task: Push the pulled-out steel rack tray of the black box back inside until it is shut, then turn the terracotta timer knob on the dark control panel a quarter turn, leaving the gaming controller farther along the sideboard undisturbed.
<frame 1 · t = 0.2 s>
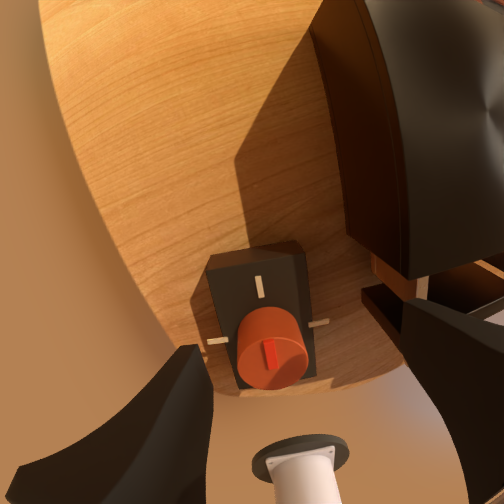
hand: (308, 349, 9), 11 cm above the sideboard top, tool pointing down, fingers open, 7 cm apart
timer panel: (264, 310, 21), on the sideboard top
black box: (407, 121, 17), on the sideboard top
timer knob: (270, 349, 16), point 5 cm above the sideboard top, hinge at 0.0°
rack: (450, 234, 15), point 4 cm above the sideboard top, slide at 4.0 cm
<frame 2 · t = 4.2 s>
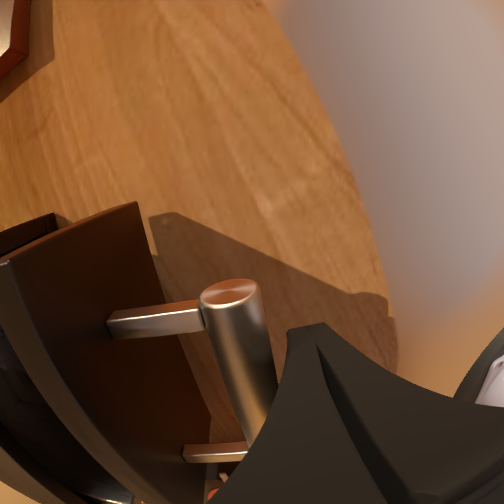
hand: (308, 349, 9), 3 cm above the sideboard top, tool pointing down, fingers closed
timer panel: (237, 463, 16), on the sideboard top
black box: (12, 335, 13), on the sideboard top
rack: (50, 383, 8), point 4 cm above the sideboard top, slide at 3.7 cm, touching gripper
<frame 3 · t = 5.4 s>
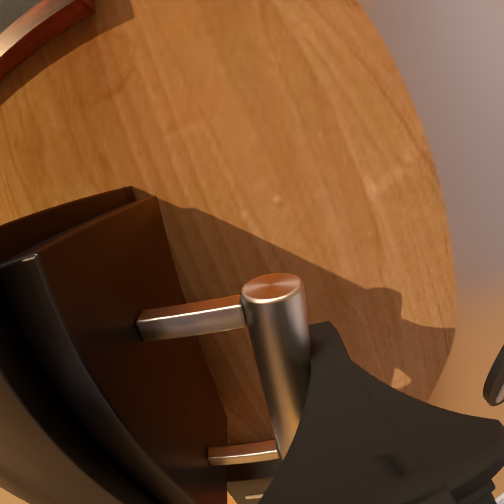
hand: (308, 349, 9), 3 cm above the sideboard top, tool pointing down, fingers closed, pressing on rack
timer panel: (299, 455, 16), on the sideboard top
black box: (50, 337, 12), on the sideboard top
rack: (62, 389, 8), point 4 cm above the sideboard top, slide at 0.0 cm, touching gripper, black box
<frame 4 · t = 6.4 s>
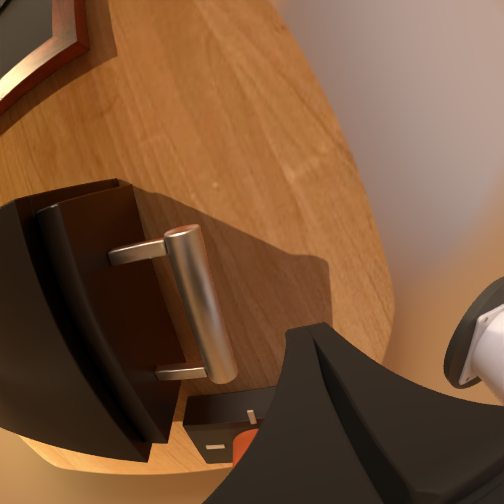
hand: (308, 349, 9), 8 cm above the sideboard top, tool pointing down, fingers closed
timer panel: (258, 413, 20), on the sideboard top
black box: (55, 295, 16), on the sideboard top
timer knob: (261, 462, 15), point 5 cm above the sideboard top, hinge at 0.0°
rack: (60, 321, 12), point 4 cm above the sideboard top, slide at 0.0 cm
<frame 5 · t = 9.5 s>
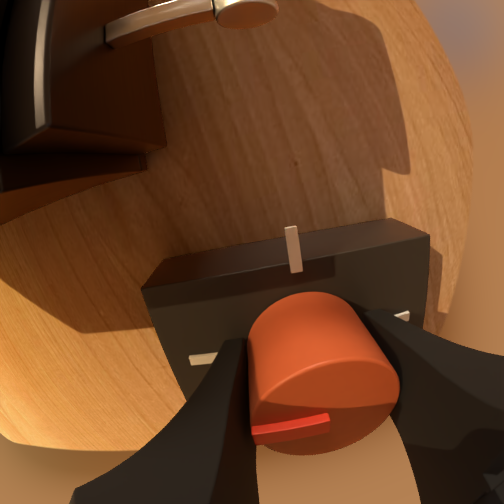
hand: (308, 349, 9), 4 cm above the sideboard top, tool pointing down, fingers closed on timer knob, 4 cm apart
timer panel: (291, 302, 12), on the sideboard top
black box: (7, 105, 9), on the sideboard top
timer knob: (316, 378, 8), point 5 cm above the sideboard top, hinge at 0.0°, touching gripper
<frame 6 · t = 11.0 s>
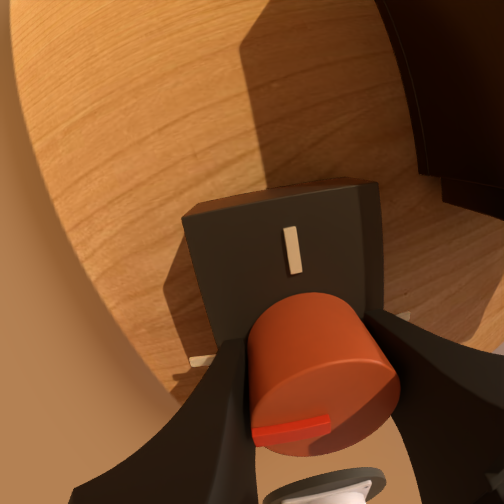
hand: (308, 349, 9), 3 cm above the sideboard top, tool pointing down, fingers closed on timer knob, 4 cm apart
timer panel: (291, 303, 12), on the sideboard top
black box: (468, 39, 8), on the sideboard top
timer knob: (317, 379, 7), point 5 cm above the sideboard top, hinge at 90.1°, touching gripper
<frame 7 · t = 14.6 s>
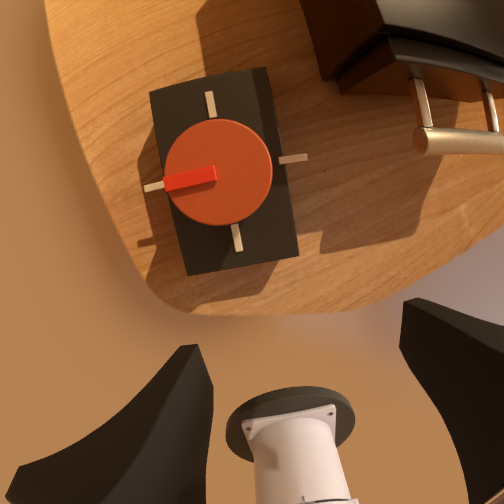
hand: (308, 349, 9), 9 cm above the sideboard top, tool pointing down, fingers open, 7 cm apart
timer panel: (227, 169, 16), on the sideboard top
timer knob: (220, 171, 11), point 5 cm above the sideboard top, hinge at 90.5°
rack: (420, 10, 9), point 4 cm above the sideboard top, slide at 0.0 cm
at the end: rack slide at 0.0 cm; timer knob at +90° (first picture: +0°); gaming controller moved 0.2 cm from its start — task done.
